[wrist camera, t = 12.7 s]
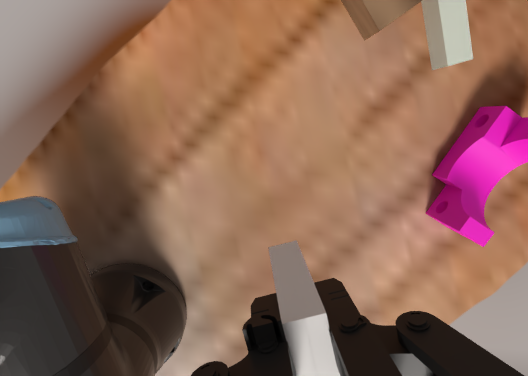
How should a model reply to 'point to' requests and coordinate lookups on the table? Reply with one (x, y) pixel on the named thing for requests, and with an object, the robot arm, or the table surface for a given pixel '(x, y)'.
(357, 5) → the walnut block
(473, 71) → the table surface
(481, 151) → the magenta arch bracket
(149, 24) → the table surface
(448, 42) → the board
